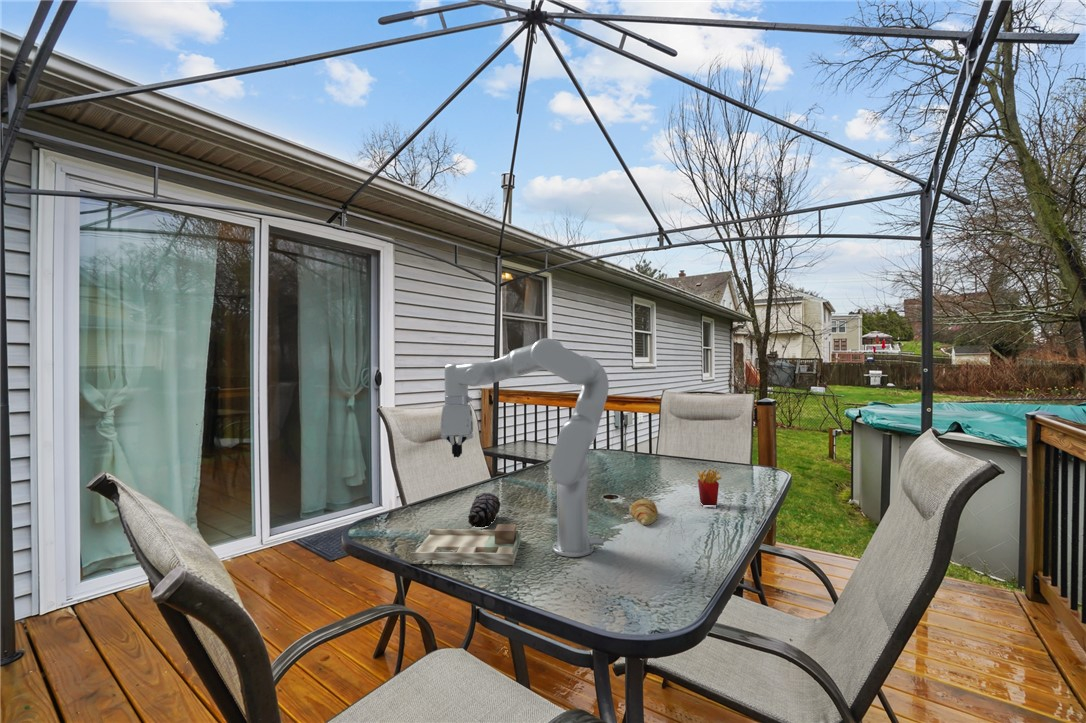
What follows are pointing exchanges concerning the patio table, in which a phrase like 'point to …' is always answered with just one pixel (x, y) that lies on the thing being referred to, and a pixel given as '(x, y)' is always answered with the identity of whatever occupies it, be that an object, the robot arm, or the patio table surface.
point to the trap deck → (467, 547)
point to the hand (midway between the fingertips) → (457, 456)
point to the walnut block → (505, 534)
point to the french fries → (708, 487)
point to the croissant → (644, 511)
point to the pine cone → (484, 510)
